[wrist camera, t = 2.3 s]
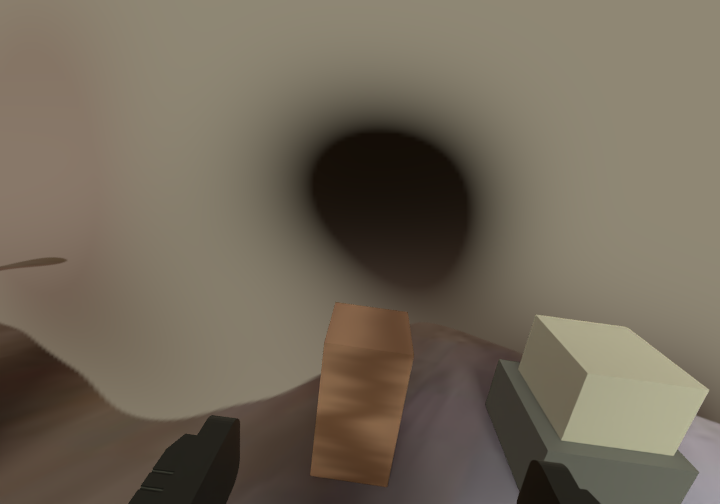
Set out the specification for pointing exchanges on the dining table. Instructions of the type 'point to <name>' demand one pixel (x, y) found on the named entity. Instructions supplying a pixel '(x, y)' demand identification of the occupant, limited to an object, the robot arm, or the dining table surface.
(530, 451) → the tower base
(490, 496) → the dining table surface
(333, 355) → the wooden block
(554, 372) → the tower top
